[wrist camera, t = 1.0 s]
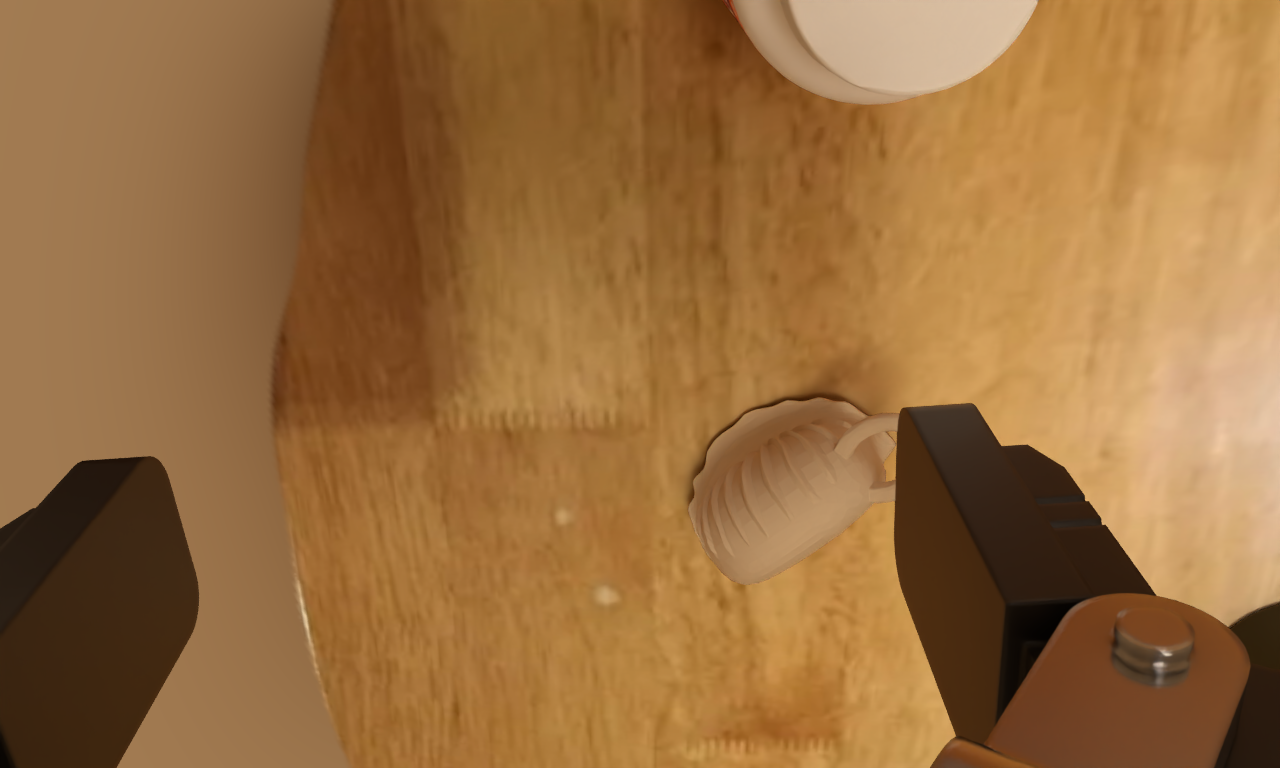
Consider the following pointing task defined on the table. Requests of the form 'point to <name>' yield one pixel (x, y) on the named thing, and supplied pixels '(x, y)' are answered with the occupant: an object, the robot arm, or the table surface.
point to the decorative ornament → (789, 484)
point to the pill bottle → (880, 43)
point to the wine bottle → (1261, 636)
